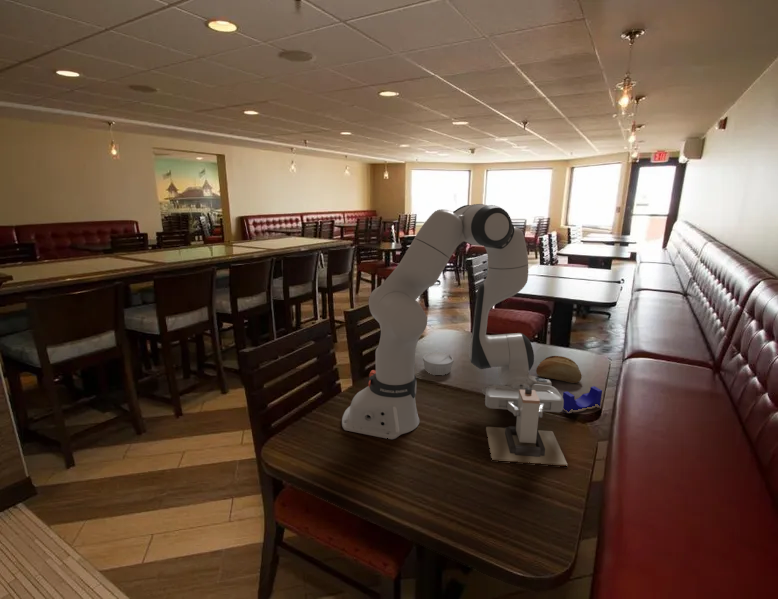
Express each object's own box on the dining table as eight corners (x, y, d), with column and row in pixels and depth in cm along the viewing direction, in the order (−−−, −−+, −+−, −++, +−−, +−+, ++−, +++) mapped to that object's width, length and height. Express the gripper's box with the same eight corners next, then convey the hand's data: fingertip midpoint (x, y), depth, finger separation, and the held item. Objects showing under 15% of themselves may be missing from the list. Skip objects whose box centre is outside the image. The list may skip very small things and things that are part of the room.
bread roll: (535, 370, 151) (537, 350, 149) (579, 376, 147) (582, 355, 145) (535, 381, 143) (537, 360, 141) (581, 388, 138) (584, 366, 136)
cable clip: (588, 401, 129) (590, 384, 128) (599, 408, 125) (602, 390, 124) (557, 407, 126) (559, 389, 124) (568, 414, 122) (570, 396, 120)
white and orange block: (519, 442, 103) (523, 396, 100) (515, 429, 108) (519, 386, 105) (535, 443, 103) (540, 397, 99) (531, 430, 108) (535, 386, 104)
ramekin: (454, 377, 146) (455, 364, 144) (423, 377, 146) (424, 363, 144) (450, 364, 156) (451, 352, 155) (421, 364, 157) (422, 351, 155)
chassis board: (491, 460, 100) (492, 451, 100) (485, 429, 114) (486, 420, 113) (567, 467, 98) (568, 457, 98) (552, 433, 112) (553, 424, 111)
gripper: (482, 376, 116) (487, 400, 103) (556, 380, 114) (571, 405, 101) (481, 396, 118) (486, 422, 105) (553, 400, 115) (568, 427, 102)
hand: (528, 414), depth 103 cm, fingers closed on white and orange block, 4 cm apart
